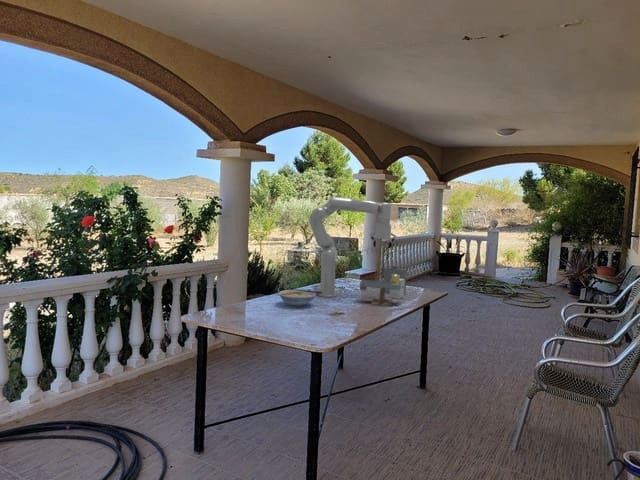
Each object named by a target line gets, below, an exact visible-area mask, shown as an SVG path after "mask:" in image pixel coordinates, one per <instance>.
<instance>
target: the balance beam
mask: <svg viewBox="0 0 640 480" xmlns="http://www.w3.org/2000/svg"><path fill="white" fill-rule="evenodd" d="M380 287H384V289H393V290H400V287H401V283H399V285H391V282H384V281H381V280H368V279H361V280H360V282H359V290H360V291H367V289H368V288H373V289H374V288H376V289H380Z"/></svg>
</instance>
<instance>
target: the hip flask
mask: <svg viewBox="0 0 640 480" xmlns="http://www.w3.org/2000/svg"><path fill="white" fill-rule="evenodd" d="M398 267H399V266H398V265H397V264H396V265H395V264H393V265H392V267H383V282H390V279H392V274H399V275H400V279H405V283H404V295H406V294H407V293H406V289H407V288H406V286H407V271H408V270H407V269H406V268H405V269H404V268H398ZM385 294H390V289H385Z"/></svg>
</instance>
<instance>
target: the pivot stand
mask: <svg viewBox="0 0 640 480" xmlns="http://www.w3.org/2000/svg"><path fill="white" fill-rule="evenodd" d="M385 294H386V293H385V289H384V287H380V288H379V297H373V298H372V301H371V306H377V307H378V306H379V307H388V308H392V302H393V301H392V300H393V298H386V297H385Z"/></svg>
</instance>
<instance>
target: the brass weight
mask: <svg viewBox="0 0 640 480" xmlns="http://www.w3.org/2000/svg"><path fill="white" fill-rule="evenodd" d="M399 280H400V275H399V274H392V279H391V285H399Z"/></svg>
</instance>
